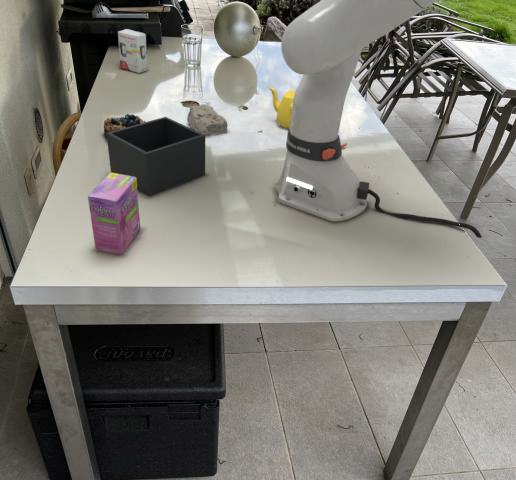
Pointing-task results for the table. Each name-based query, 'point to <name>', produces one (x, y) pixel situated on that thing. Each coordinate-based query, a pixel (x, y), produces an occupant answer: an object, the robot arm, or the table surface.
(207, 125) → the stone
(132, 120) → the pastry
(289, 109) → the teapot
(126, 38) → the ink box
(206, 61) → the table surface
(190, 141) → the bin
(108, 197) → the box
